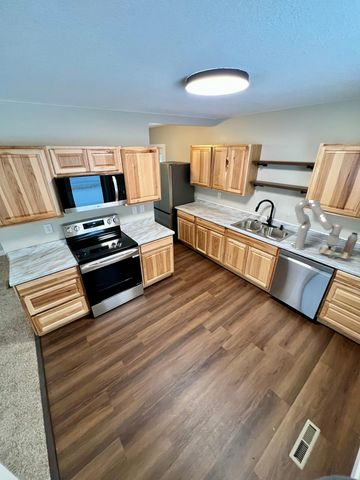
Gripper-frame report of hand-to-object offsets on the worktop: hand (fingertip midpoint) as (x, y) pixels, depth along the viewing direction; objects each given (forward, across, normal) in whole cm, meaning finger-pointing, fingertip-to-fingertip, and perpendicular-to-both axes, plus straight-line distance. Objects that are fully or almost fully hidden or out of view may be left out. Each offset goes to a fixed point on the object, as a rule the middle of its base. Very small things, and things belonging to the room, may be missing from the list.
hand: (329, 249), depth 219 cm
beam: (+9, +5, 0) cm, 10 cm away
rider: (+3, +8, 0) cm, 8 cm away
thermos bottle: (+9, +18, +15) cm, 25 cm away
